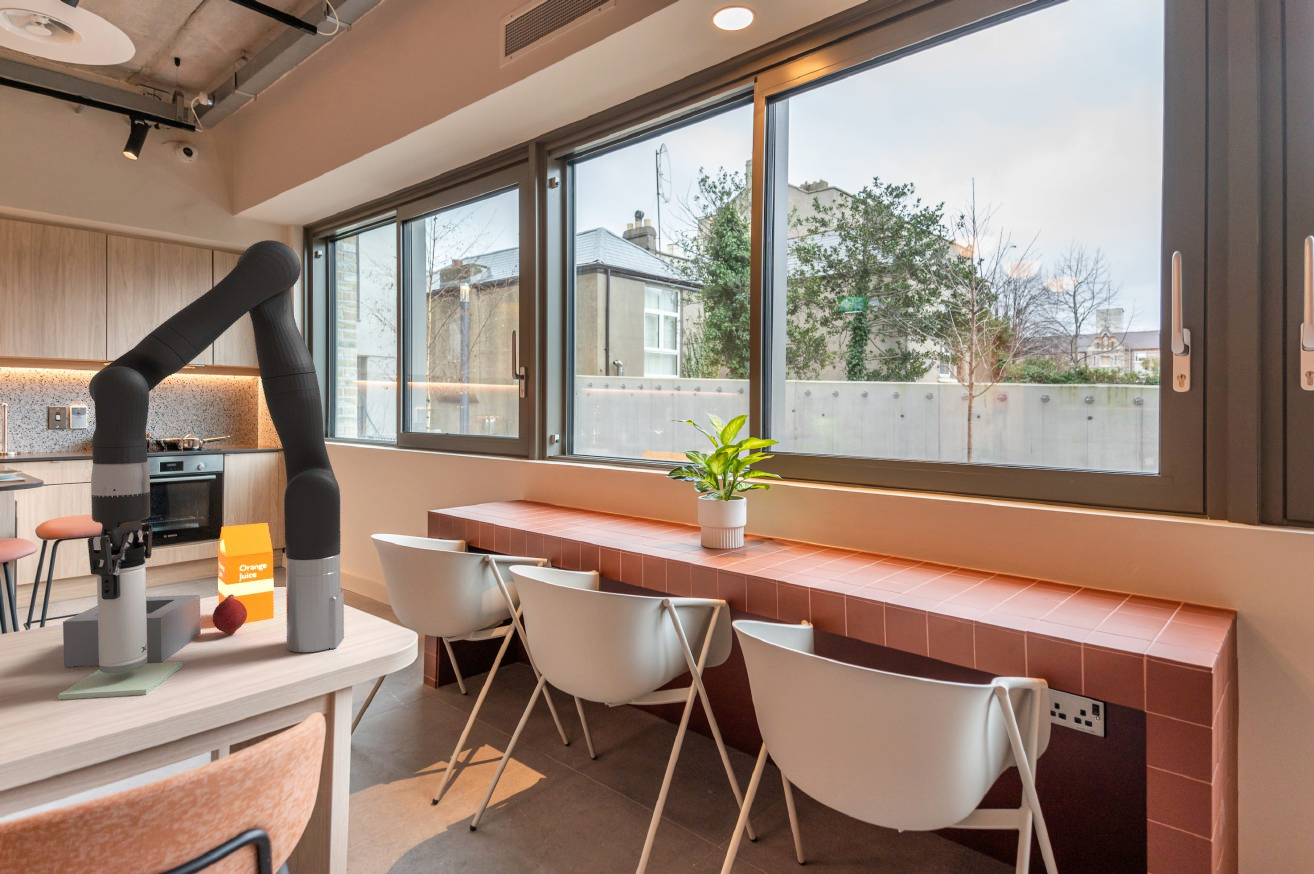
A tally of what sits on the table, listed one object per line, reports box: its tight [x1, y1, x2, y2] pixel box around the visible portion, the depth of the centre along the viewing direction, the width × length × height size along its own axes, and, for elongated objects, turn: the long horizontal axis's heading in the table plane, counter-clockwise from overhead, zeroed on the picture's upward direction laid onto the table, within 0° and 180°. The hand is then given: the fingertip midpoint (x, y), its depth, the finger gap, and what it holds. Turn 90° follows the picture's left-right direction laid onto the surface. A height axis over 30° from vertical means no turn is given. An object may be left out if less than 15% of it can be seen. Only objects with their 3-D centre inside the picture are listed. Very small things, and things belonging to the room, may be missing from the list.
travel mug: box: [96, 542, 148, 673], centre depth 113 cm, size 6×7×20 cm
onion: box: [211, 594, 247, 635], centre depth 137 cm, size 6×6×8 cm
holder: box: [62, 594, 201, 668], centre depth 128 cm, size 15×15×8 cm
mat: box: [57, 661, 184, 700], centre depth 113 cm, size 12×12×1 cm
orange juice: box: [217, 522, 275, 624], centre depth 147 cm, size 8×9×20 cm
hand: (123, 592), depth 113 cm, fingers closed on travel mug, 6 cm apart
